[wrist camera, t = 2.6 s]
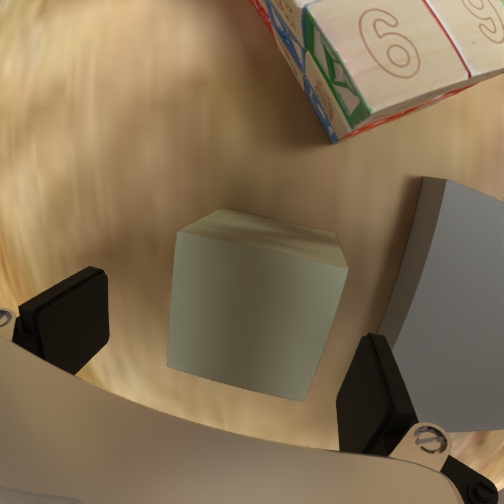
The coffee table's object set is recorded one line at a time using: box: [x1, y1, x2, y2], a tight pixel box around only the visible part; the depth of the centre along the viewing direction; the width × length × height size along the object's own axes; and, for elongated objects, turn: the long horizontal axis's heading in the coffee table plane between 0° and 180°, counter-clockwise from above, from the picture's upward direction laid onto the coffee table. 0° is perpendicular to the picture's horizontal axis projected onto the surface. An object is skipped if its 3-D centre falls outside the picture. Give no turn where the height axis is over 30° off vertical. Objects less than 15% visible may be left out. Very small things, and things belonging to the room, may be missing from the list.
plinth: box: [377, 177, 504, 432], centre depth 14 cm, size 14×14×3 cm
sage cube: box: [167, 208, 349, 402], centre depth 14 cm, size 6×6×6 cm
